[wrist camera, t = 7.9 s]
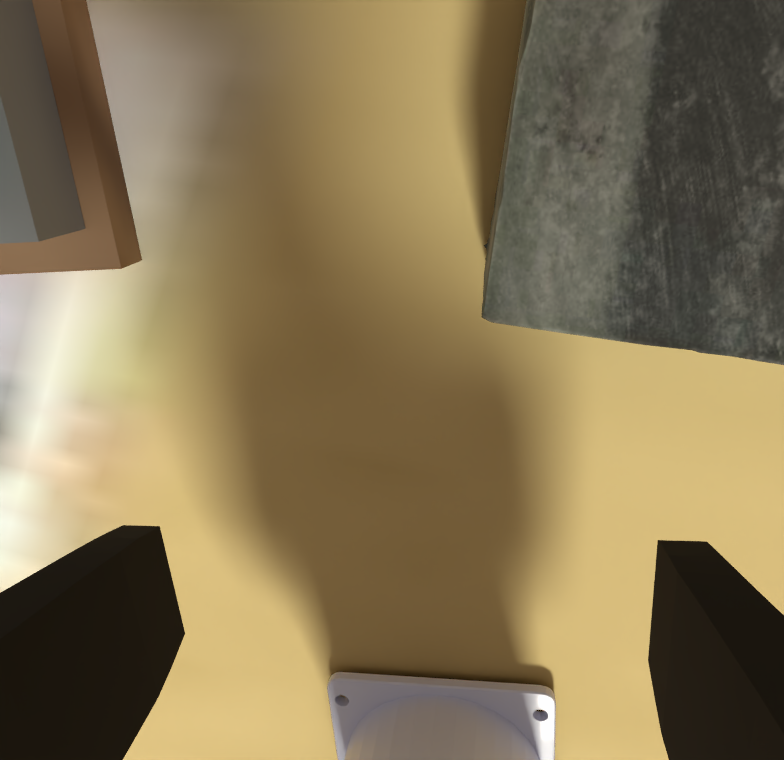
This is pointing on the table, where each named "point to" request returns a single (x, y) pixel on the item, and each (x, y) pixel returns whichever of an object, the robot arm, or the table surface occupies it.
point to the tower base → (80, 154)
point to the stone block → (645, 176)
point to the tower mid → (31, 137)
